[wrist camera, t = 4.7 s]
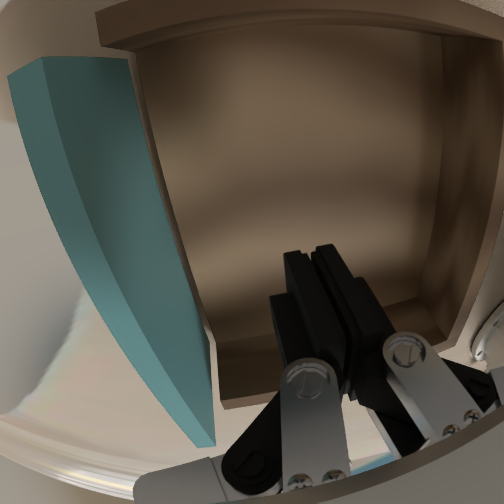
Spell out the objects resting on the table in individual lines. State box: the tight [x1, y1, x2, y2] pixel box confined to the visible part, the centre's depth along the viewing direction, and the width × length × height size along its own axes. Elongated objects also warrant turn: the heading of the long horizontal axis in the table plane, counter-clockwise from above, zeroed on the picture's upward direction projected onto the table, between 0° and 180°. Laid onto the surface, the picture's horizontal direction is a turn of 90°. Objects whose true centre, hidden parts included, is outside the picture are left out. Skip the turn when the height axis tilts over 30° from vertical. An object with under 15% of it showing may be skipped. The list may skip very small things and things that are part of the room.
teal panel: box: [7, 57, 216, 448], centre depth 12 cm, size 17×1×8 cm, turn 8°
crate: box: [95, 0, 504, 410], centre depth 14 cm, size 20×16×6 cm
